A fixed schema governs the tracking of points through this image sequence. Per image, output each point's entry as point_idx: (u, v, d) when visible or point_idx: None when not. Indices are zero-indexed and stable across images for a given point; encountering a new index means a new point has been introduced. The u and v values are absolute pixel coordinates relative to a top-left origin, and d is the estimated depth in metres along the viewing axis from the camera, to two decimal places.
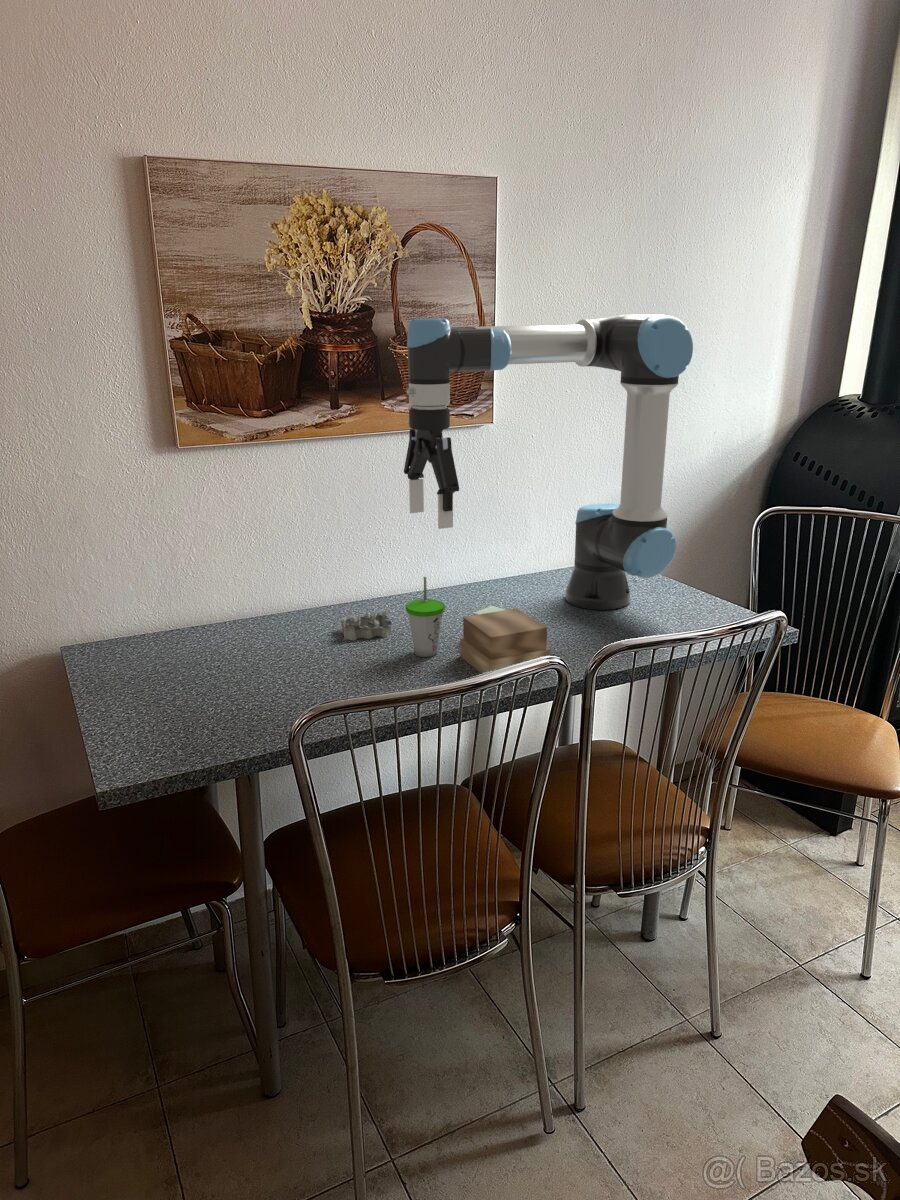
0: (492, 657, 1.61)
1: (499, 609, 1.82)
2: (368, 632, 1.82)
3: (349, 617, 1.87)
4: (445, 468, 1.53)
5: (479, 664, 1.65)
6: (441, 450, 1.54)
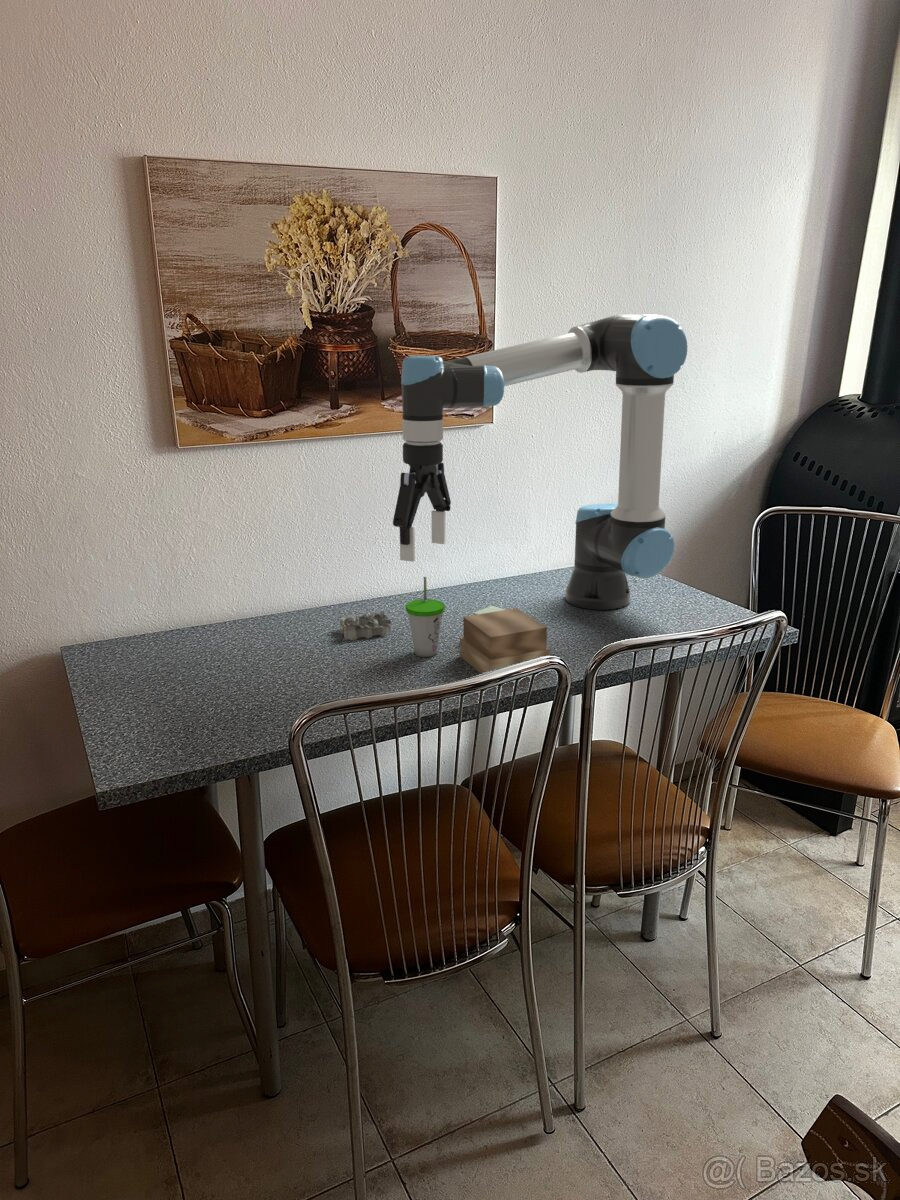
0: (492, 657, 1.61)
1: (499, 609, 1.82)
2: (368, 631, 1.82)
3: (347, 617, 1.87)
4: (398, 502, 1.57)
5: (479, 663, 1.65)
6: (402, 484, 1.57)
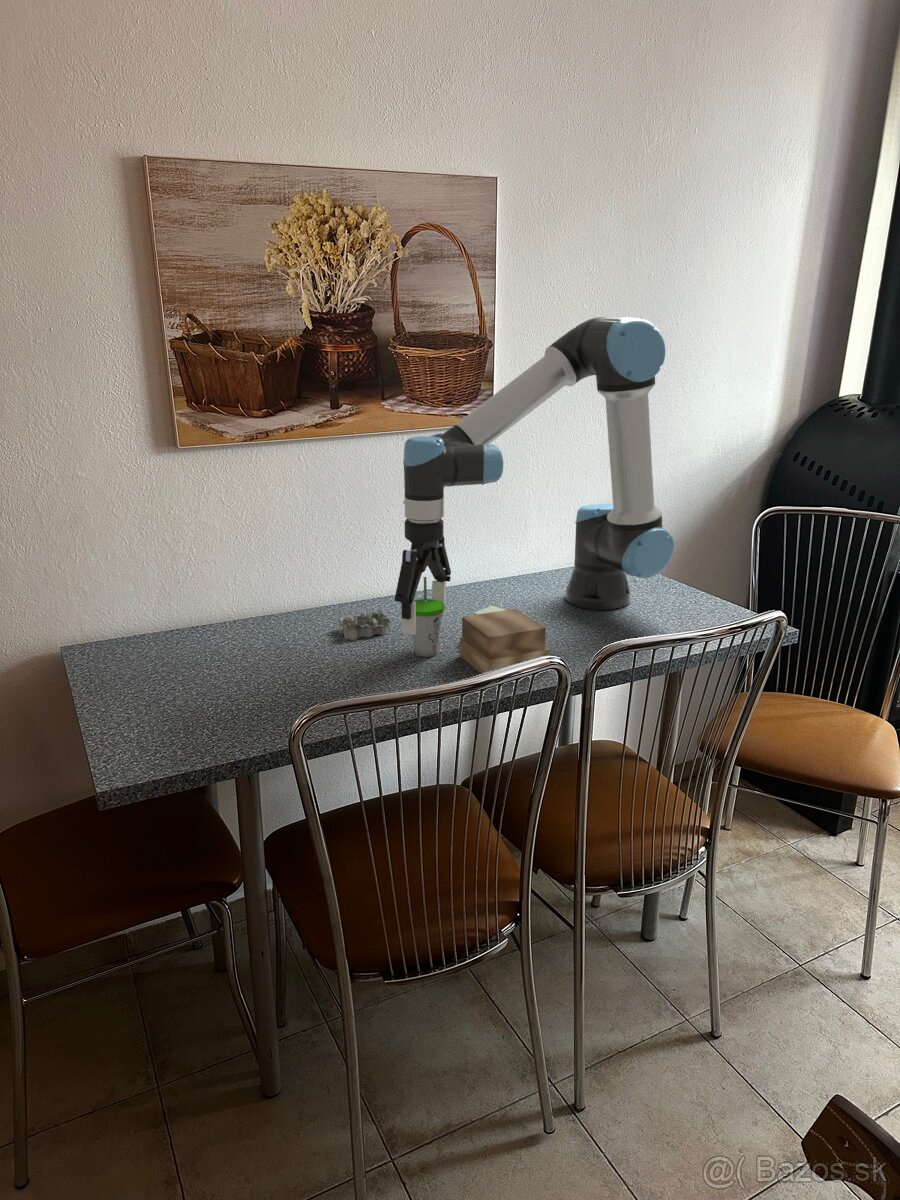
0: (490, 657, 1.61)
1: (499, 609, 1.82)
2: (369, 631, 1.82)
3: (346, 617, 1.87)
4: (400, 579, 1.62)
5: (479, 664, 1.65)
6: (403, 561, 1.62)
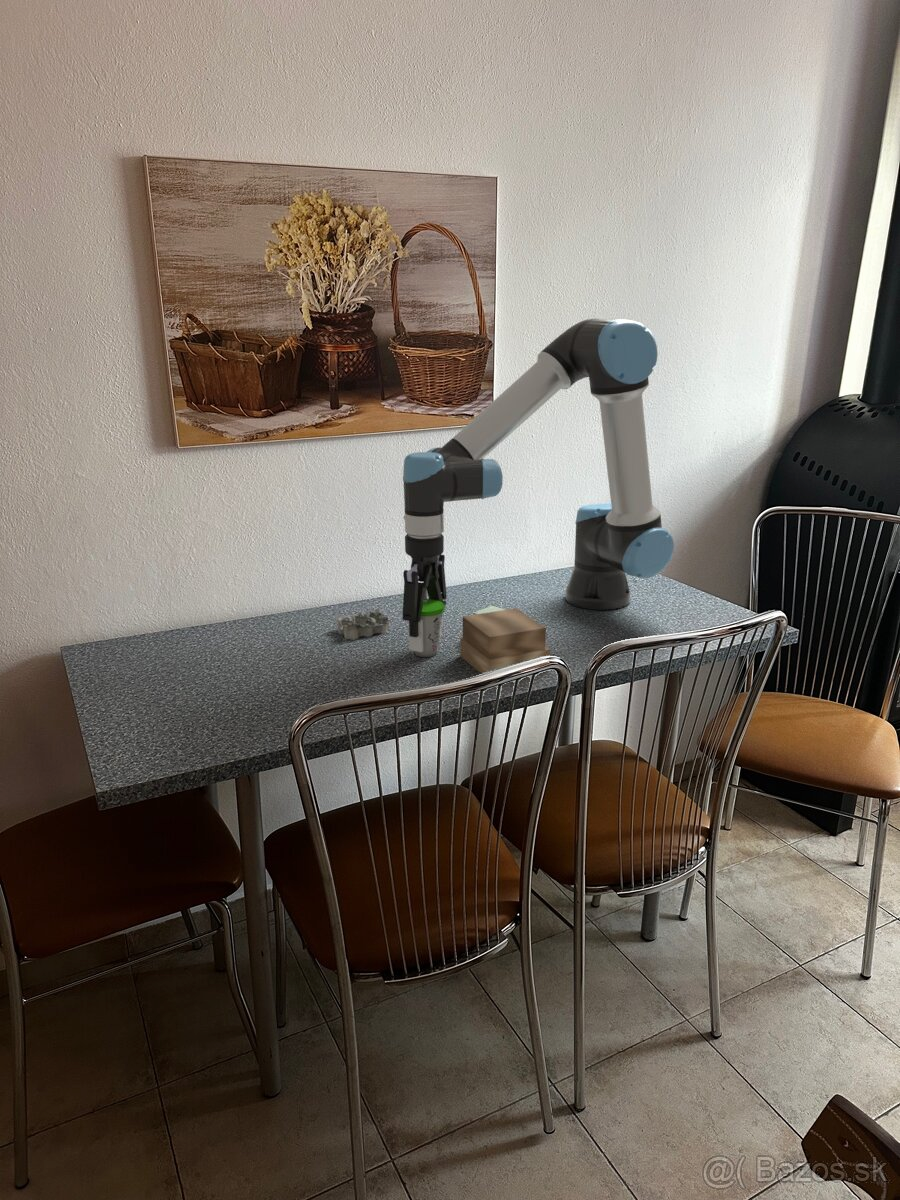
0: (490, 657, 1.61)
1: (499, 609, 1.82)
2: (369, 630, 1.83)
3: (344, 617, 1.87)
4: (405, 599, 1.65)
5: (479, 664, 1.65)
6: (406, 582, 1.64)
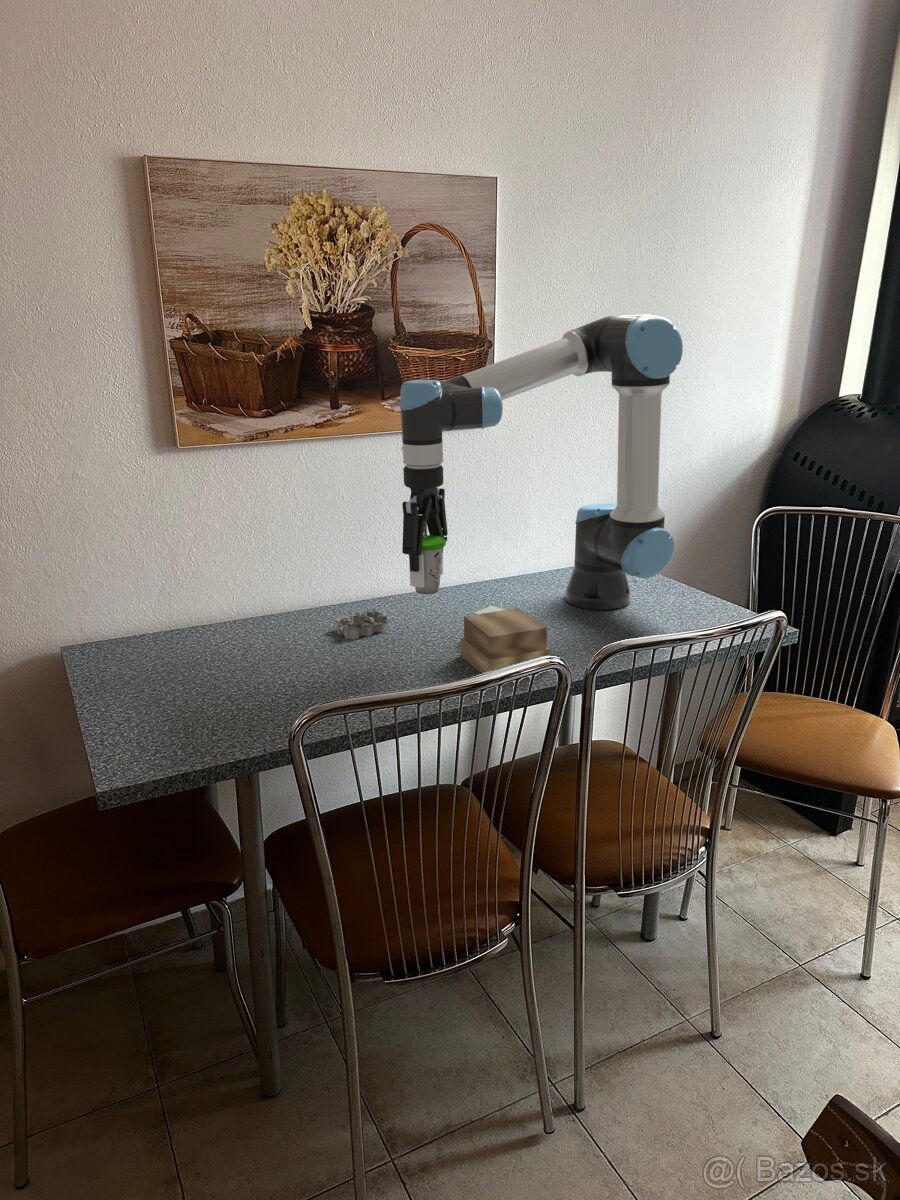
0: (491, 657, 1.61)
1: (499, 609, 1.82)
2: (369, 629, 1.83)
3: (342, 617, 1.87)
4: (404, 532, 1.60)
5: (479, 663, 1.65)
6: (405, 514, 1.59)
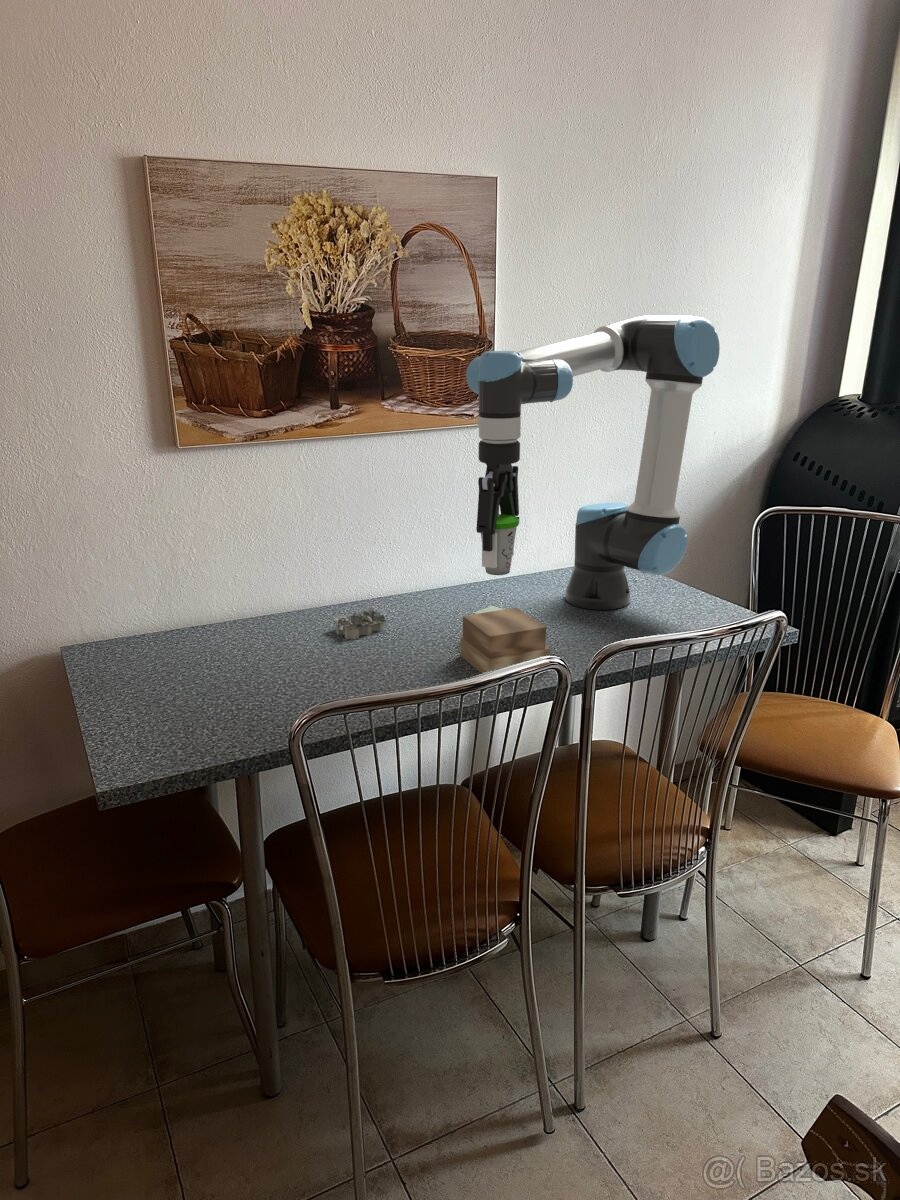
0: (490, 656, 1.61)
1: (499, 609, 1.82)
2: (369, 628, 1.84)
3: (340, 617, 1.87)
4: (479, 509, 1.54)
5: (479, 663, 1.65)
6: (480, 490, 1.53)
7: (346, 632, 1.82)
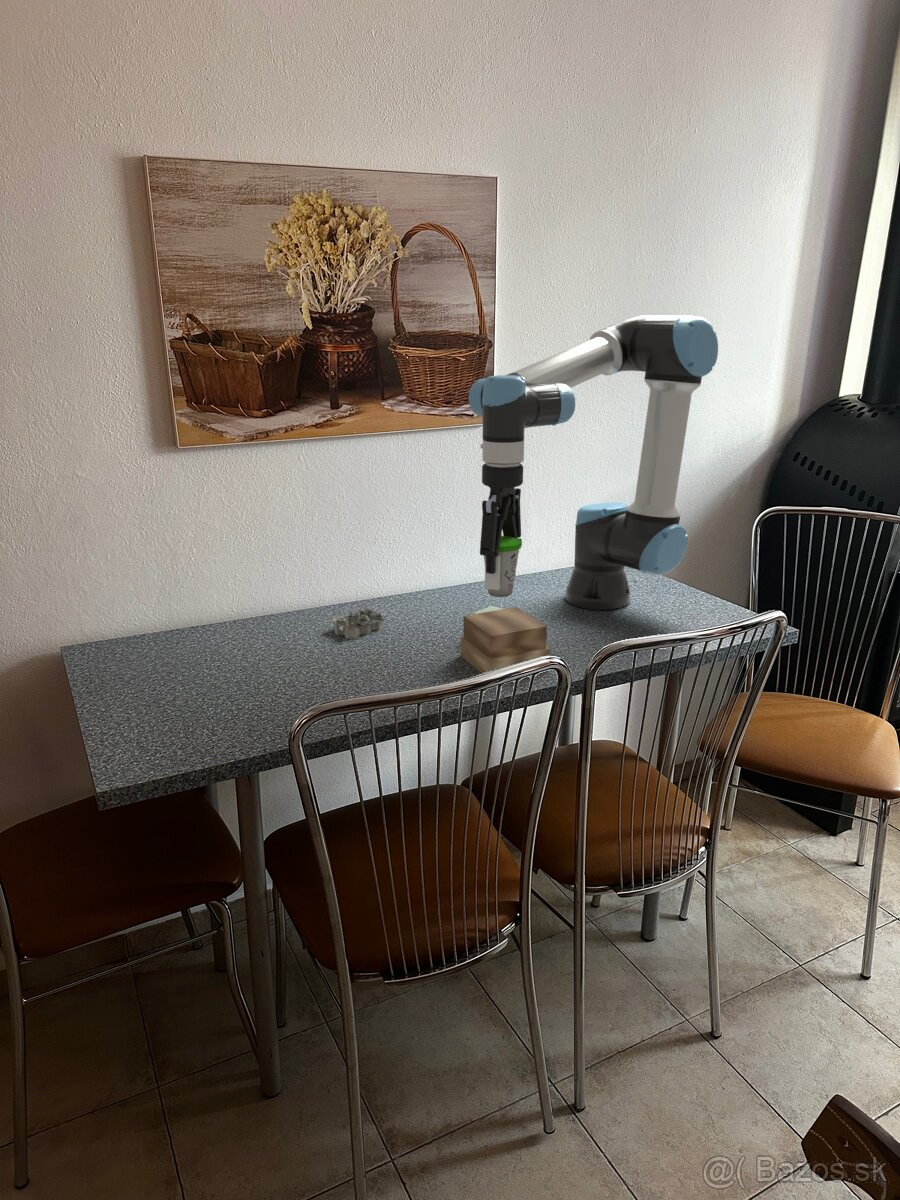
0: (492, 656, 1.62)
1: (499, 609, 1.82)
2: (368, 627, 1.84)
3: (337, 618, 1.86)
4: (483, 532, 1.55)
5: (480, 663, 1.65)
6: (484, 513, 1.54)
7: (346, 632, 1.82)
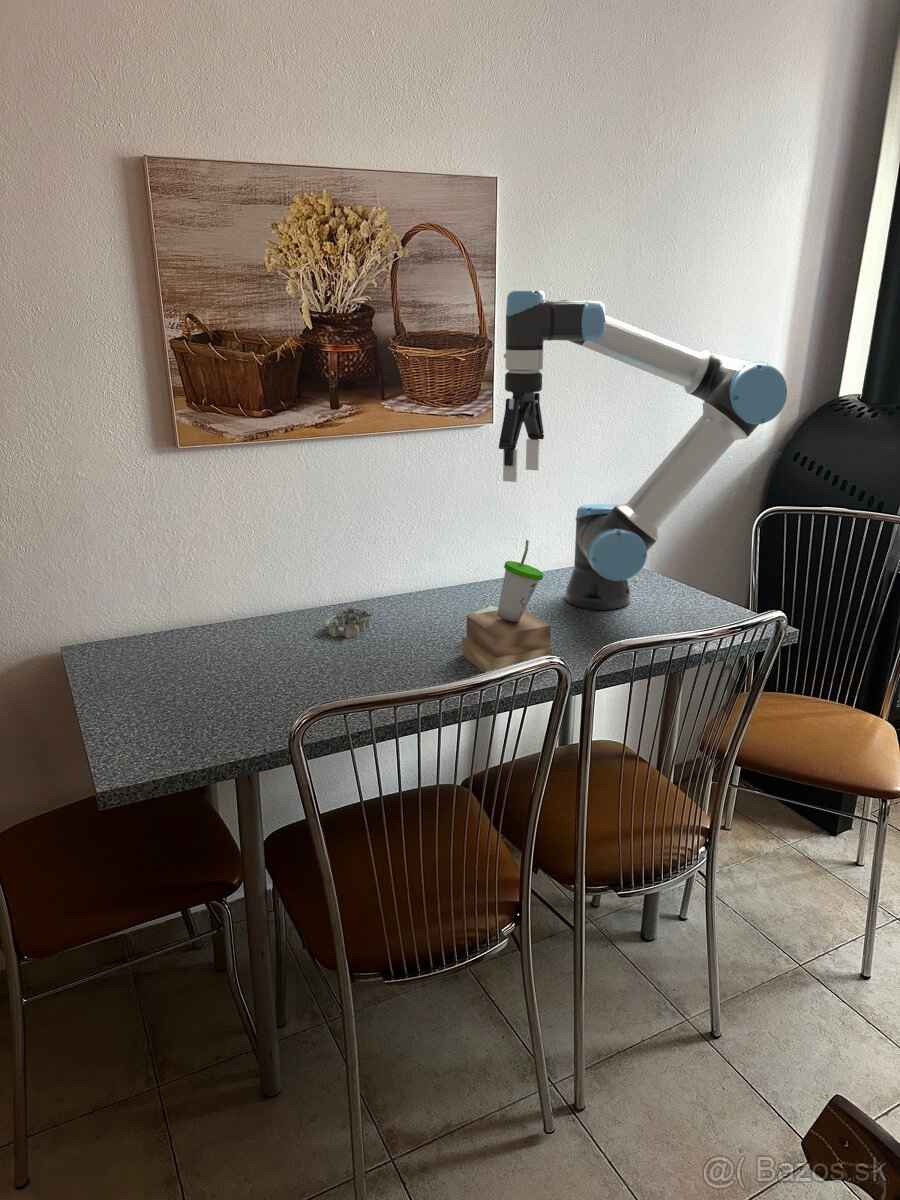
0: (496, 655, 1.62)
1: None
2: (364, 624, 1.86)
3: (329, 620, 1.85)
4: (504, 426, 1.70)
5: (481, 662, 1.66)
6: (507, 409, 1.71)
7: (348, 632, 1.82)
